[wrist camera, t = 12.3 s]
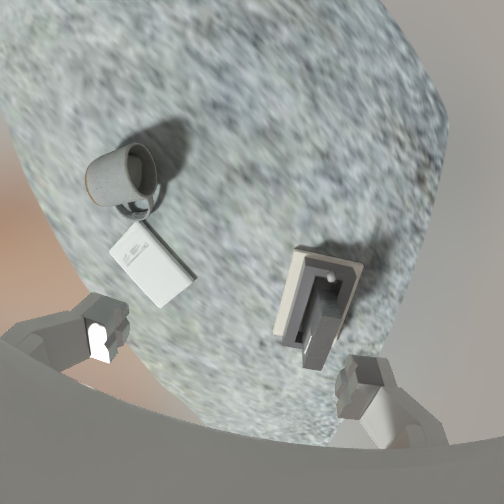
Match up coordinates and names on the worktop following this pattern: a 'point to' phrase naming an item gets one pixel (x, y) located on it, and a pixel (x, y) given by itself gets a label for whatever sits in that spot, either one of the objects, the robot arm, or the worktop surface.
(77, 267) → the worktop surface
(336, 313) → the block
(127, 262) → the external hard drive
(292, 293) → the dock
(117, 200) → the ceramic mug
